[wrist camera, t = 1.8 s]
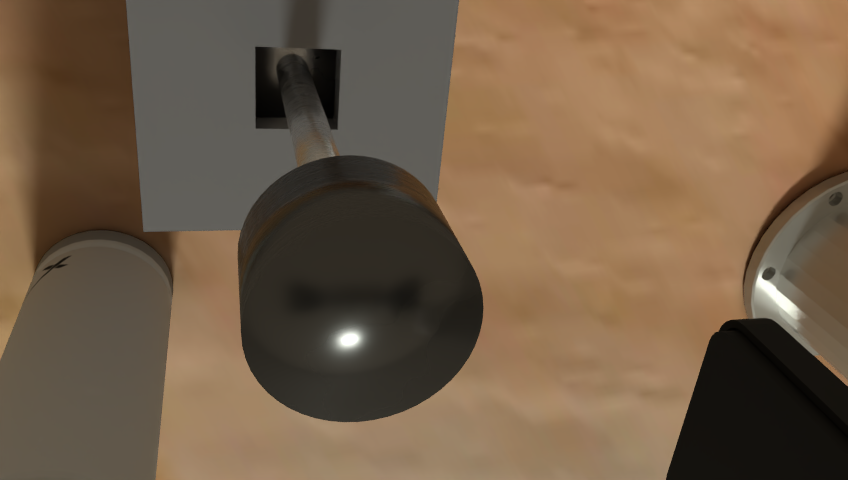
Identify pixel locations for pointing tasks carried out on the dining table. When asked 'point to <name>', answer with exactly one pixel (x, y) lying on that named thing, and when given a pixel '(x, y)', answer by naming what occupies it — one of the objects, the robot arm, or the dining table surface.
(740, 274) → the dining table surface
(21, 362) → the travel mug
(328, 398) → the plunger
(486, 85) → the dining table surface
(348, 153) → the grey box with hole
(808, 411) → the robot arm
